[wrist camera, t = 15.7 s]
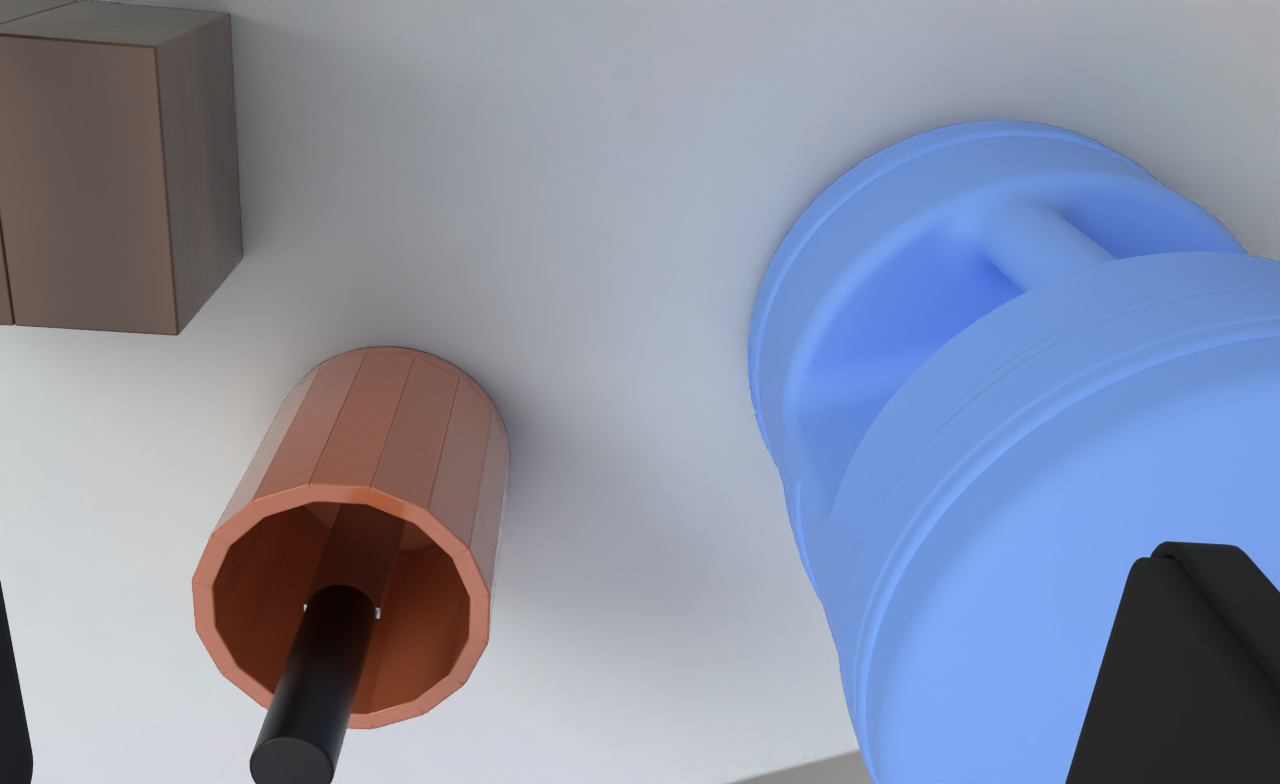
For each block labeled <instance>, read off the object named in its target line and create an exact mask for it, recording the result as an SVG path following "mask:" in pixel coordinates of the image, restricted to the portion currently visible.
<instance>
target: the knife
mask: <svg viewBox="0 0 1280 784" xmlns="http://www.w3.org/2000/svg"><path fill="white" fill-rule="evenodd" d="M405 525H406V520H404V519H401V518H399V517H397V516H394V515H392V514H389V513H387V512H384V511H382V510H379V509H377V508H374V507H372V506H370V505H367V504H350V503H342V504H341V506H340V509H339V512H338V514H337V517H336V520H335V522H334V525H333V528H332V530H331V533H330V536H329V538H328V541H327V544H326V546H325V549H324V552H323V554H322V557H321V560H320V562H319V565H318V568H317V570H316V573H315V576H314V578H313V581H312V584H311V586H310V589H309V592H308V594H307V597H306V600H305V602H304V605H303V606H304V615H303V617H302V620H301V623H300V625H299V628H298V631H297V634H296V636H295V639H294V642H293V644H292V647H291V650H290V653H289V655H288V658H287V661H286V663H285V666H284V669H283V672H282V674H281V677H280V680H279V682H278V685H277V688H276V690H275V693H274V696H273V699H272V701H271V704H270V707H269V709H268V712H267V715H266V718H265V720H264V723H263V726H262V728H261V731H260V734H259V736H258V739H257V742H256V745H255V747H254V750H253V753H252V755H251V758H250V772H251V775H252V778H253V780H254V781H255V783H256V784H331V782H332V780H333V777H334V773H335V770H336V766H337V762H338V759H339V755H340V751H341V748H342V744H343V740H344V736H345V733H346V729H347V725H348V722H349V718H350V714H351V711H352V707H353V703H354V700H355V696H356V692H357V689H358V685H359V681H360V678H361V674H362V670H363V667H364V663H365V659H366V656H367V652H368V648H369V645H370V641H371V637H372V634H373V630H374V626H375V622H376V619H380V618H381V615H382V611H383V607H384V603H385V600H386V596H387V592H388V588H389V585H390V581H391V577H392V573H393V570H394V566H395V562H396V559H397V555H398V551H399V547H400V544H401V540H402V536H403V532H404V529H405Z"/></svg>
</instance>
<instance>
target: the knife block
mask: <svg viewBox="0 0 1280 784" xmlns="http://www.w3.org/2000/svg"><path fill="white" fill-rule="evenodd" d="M242 259H243V253H242V235H241V216H240V198H239V179H238V160H237V142H236V123H235V105H234V86H233V68H232V49H231V31H230V15H229V13H226V12H214V11H202V10H190V9H178V8H166V7H153V6H141V5H129V4H117V3H105V2H93V1H79V0H0V325H15V324H16V325H17V326H32V327H48V328H64V329H80V330H96V331H112V332H128V333H144V334H160V335H176V336H177V335H179V334H180V333H181V332H182V330H183V329H184V328H185V327H186V326H187V324H188V323H189V322H190V321H191V320H192V318H193V317H194V316H195V315H196V314H197V313H198V311H199V310H200V309H201V308H202V307H203V305H204V304H205V303H206V302H207V301H208V299H209V298H210V297H211V296H212V295H213V294H214V292H215V291H216V290H217V289H218V288H219V286H220V285H221V284H222V283H223V282H224V281H225V279H226V278H227V277H228V276H229V275H230V273H231V272H232V271H233V270H234V269H235V267H236V266H237V265H238V264H239V263H240V262H241V260H242Z"/></svg>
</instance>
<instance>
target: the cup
mask: <svg viewBox="0 0 1280 784" xmlns="http://www.w3.org/2000/svg"><path fill="white" fill-rule="evenodd" d="M508 469H509V443H508V438H507V433H506V430H505V427H504V424H503V421H502V418H501V416H500V414H499V412H498V410H497V408H496V407H495V405H494V404H493V402H492V401H491V399H490V398H489V396H488V395H487V394H486V393H485V391H484V390H483V389H482V388H481V387H480V386H479V385H478V384H477V383H476V382H475V381H474V380H473V379H472V378H470V377H469V376H468V375H467V374H466V373H464V372H463V371H461V370H460V369H458V368H457V367H455V366H454V365H452V364H450V363H448V362H446V361H444V360H442V359H440V358H438V357H435V356H433V355H430V354H427V353H425V352H421V351H416V350H412V349H407V348H399V347H372V348H363V349H359V350H355V351H350V352H347V353H344V354H341V355H339V356H336V357H334V358H332V359H330V360H328V361H326V362H324V363H323V364H321V365H319V366H318V367H316V368H315V369H314V370H312V371H311V372H310V373H308V374H307V375H306V376H305V377H304V378H303V379H302V380H301V381H300V382H299V383H298V384H297V386H296V387H295V388H294V390H293V391H292V392H291V394H290V395H289V396H287V398H286V399H285V401H284V403H283V405H282V407H281V408H280V410H279V412H278V414H277V416H276V417H275V419H274V421H273V423H272V425H271V427H270V428H269V430H268V432H267V434H266V436H265V438H264V439H263V441H262V443H261V445H260V447H259V448H258V450H257V452H256V454H255V456H254V458H253V459H252V461H251V463H250V465H249V467H248V469H247V470H246V472H245V474H244V476H243V478H242V480H241V481H240V483H239V485H238V487H237V489H236V490H235V492H234V494H233V496H232V498H231V500H230V501H229V503H228V505H227V507H226V509H225V511H224V512H223V514H222V516H221V518H220V520H219V521H218V523H217V525H216V527H215V529H214V531H213V532H212V534H211V536H210V538H209V541H208V543H207V545H206V548H205V550H204V552H203V555H202V557H201V559H200V562H199V564H198V566H197V569H196V571H195V573H194V576H193V578H192V591H193V603H194V616H195V627H196V632H197V633H198V635H199V637H200V639H201V640H202V642H203V644H204V645H205V647H206V649H207V651H208V652H209V654H210V656H211V658H212V659H213V661H214V663H215V664H216V666H217V668H218V670H219V671H220V673H221V674H222V675H223V676H224V677H225V678H227V679H228V680H229V681H230V682H232V683H233V684H234V685H236V686H237V687H238V688H239V689H241V690H242V691H243V692H244V693H246V694H247V695H248V696H249V697H251V698H252V699H253V700H254V701H256V702H257V703H258V704H260V705H261V706H262V707H265V709H269V707H270V704H271V701H272V699H273V696H274V693H275V690H276V688H277V685H278V682H279V680H280V677H281V674H282V672H283V669H284V666H285V663H286V661H287V658H288V655H289V653H290V650H291V647H292V644H293V642H294V639H295V636H296V634H297V631H298V628H299V625H300V623H301V620H302V617H303V615H304V606H303V605H304V602H305V600H306V597H307V594H308V592H309V589H310V586H311V584H312V581H313V578H314V576H315V573H316V570H317V568H318V565H319V562H320V560H321V557H322V554H323V552H324V549H325V546H326V544H327V541H328V538H329V536H330V533H331V530H332V528H333V525H334V522H335V520H336V517H337V514H338V512H339V509H340V506H341V504H342V503H350V504H367V505H370V506H372V507H374V508H377V509H379V510H382V511H384V512H387V513H389V514H392V515H394V516H397V517H399V518H401V519H404V520H406V525H405V529H404V532H403V536H402V540H401V544H400V547H399V551H398V555H397V559H396V562H395V566H394V570H393V573H392V577H391V581H390V585H389V588H388V592H387V596H386V600H385V603H384V607H383V611H382V615H381V618H380V619H376V622H375V626H374V630H373V634H372V637H371V641H370V645H369V648H368V652H367V656H366V659H365V663H364V667H363V670H362V674H361V678H360V681H359V685H358V689H357V692H356V696H355V700H354V703H353V707H352V711H351V714H350V718H349V722H348V725H347V728H351V729H373V728H374V729H375V728H379V727H382V726H386V725H389V724H393V723H396V722H400V721H403V720H407V719H410V718H414V717H417V716H421V715H423V714H424V713H427V712H428V711H430V710H431V709H433V708H434V707H435V706H437V705H438V704H439V703H441V702H442V701H443V700H445V699H446V698H447V697H449V696H450V695H451V694H453V693H454V692H455V691H457V690H458V689H459V688H461V687H462V686H463V685H464V684H465V683H466V682H467V680H468V679H469V677H470V675H471V673H472V671H473V670H474V668H475V666H476V664H477V662H478V661H479V659H480V657H481V655H482V654H483V652H484V650H485V648H486V646H487V645H488V641H489V636H490V627H491V619H492V611H493V603H494V595H495V586H496V578H497V570H498V562H499V554H500V545H501V537H502V529H503V521H504V513H505V504H506V496H507V486H508Z"/></svg>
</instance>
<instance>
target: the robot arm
mask: <svg viewBox="0 0 1280 784" xmlns="http://www.w3.org/2000/svg"><path fill="white" fill-rule="evenodd" d="M32 773H33V755H32V749H31V743H30V738H29V732H28V727H27V722H26V716H25V711H24V706H23V700H22V695H21V689H20V684H19V679H18V673H17V668H16V662H15V657H14V652H13V646H12V641H11V635H10V630H9V625H8V619H7V614H6V608H5V603H4V598H3V592H2V587H1V582H0V784H31V779H32ZM1065 784H1280V592H1279V590H1278V589H1277V588H1276V587H1275V586H1274V585H1273V584H1272V582H1271V581H1270V580H1269V579H1268V578H1267V577H1266V576H1265V574H1264V573H1263V572H1262V571H1261V570H1260V569H1259V568H1258V567H1257V565H1256V564H1255V563H1254V562H1253V561H1252V560H1251V559H1250V557H1249V556H1248V555H1247V554H1246V553H1245V552H1244V551H1243V550H1241V549H1240V548H1239V547H1238V546H1234V545H1229V544H1211V543H1192V542H1173V541H1166V542H1163V543H1161V544H1159V545H1158V546H1157V547H1156V548H1155V550H1154V551H1153V552H1152V554H1151V556H1150V557H1142V558H1139V559H1137V560H1136V561H1135V562H1134V564H1133V565H1132V567H1131V569H1130V571H1129V574H1128V577H1127V580H1126V584H1125V587H1124V590H1123V594H1122V597H1121V600H1120V604H1119V607H1118V610H1117V613H1116V617H1115V620H1114V623H1113V627H1112V630H1111V633H1110V637H1109V640H1108V643H1107V647H1106V650H1105V653H1104V657H1103V660H1102V663H1101V666H1100V670H1099V673H1098V676H1097V680H1096V683H1095V686H1094V690H1093V693H1092V696H1091V700H1090V703H1089V706H1088V710H1087V713H1086V716H1085V719H1084V723H1083V726H1082V729H1081V733H1080V736H1079V739H1078V743H1077V746H1076V749H1075V753H1074V756H1073V759H1072V763H1071V766H1070V769H1069V772H1068V776H1067V779H1066V782H1065Z"/></svg>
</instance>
